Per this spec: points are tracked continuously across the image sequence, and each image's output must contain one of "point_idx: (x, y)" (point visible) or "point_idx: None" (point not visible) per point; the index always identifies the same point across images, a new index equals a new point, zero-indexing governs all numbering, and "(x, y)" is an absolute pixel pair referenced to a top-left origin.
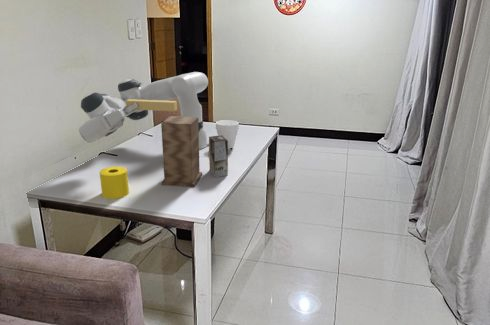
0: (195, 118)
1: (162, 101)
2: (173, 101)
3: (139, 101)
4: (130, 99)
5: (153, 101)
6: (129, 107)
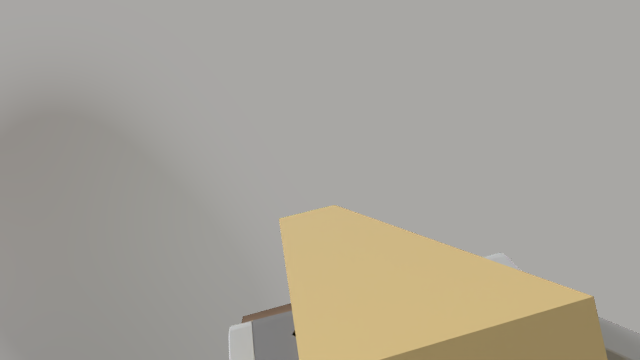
0: (270, 311)
1: (325, 216)
2: (301, 214)
3: (417, 238)
4: (345, 337)
5: (352, 220)
6: (625, 349)
